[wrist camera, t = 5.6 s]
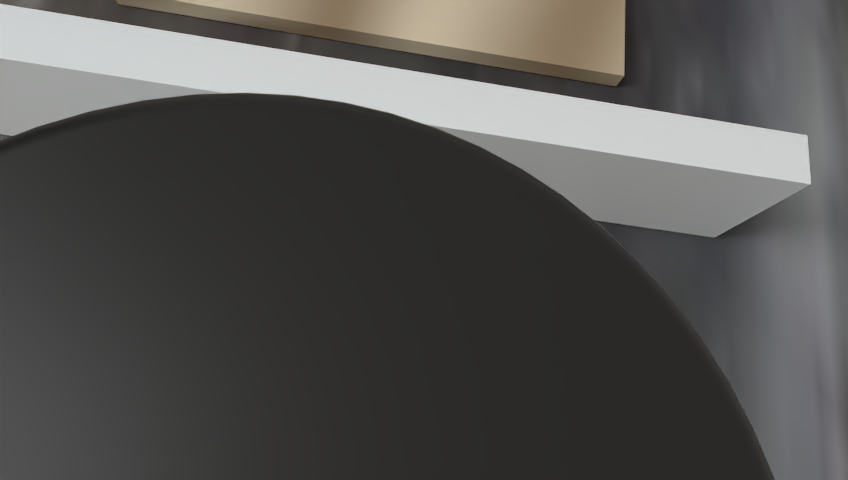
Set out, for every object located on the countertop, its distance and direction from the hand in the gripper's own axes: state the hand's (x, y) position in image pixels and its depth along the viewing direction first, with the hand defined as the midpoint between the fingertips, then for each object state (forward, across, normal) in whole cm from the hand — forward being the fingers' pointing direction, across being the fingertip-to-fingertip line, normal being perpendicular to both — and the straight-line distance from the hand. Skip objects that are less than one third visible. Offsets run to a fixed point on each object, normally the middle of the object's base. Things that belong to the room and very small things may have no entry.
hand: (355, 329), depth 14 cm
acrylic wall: (+6, -1, +1) cm, 6 cm away
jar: (0, 0, -5) cm, 5 cm away
